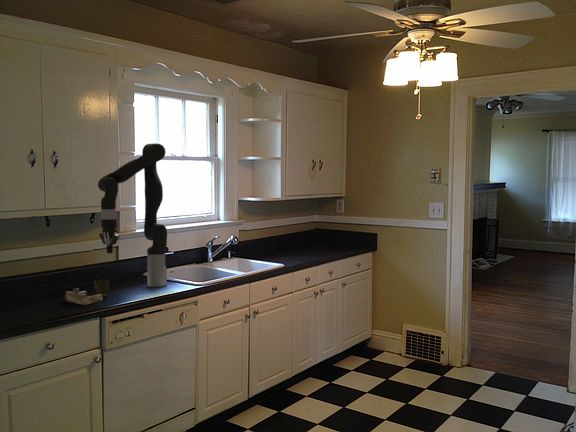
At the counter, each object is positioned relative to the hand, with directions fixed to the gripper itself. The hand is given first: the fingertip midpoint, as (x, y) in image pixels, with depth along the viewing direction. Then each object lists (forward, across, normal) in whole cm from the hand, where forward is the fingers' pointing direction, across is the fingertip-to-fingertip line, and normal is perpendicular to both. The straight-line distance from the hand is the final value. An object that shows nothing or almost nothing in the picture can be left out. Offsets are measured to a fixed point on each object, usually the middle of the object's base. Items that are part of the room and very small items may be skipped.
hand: (109, 252), depth 276 cm
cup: (+20, -3, +8) cm, 22 cm away
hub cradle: (+20, -3, +18) cm, 27 cm away
